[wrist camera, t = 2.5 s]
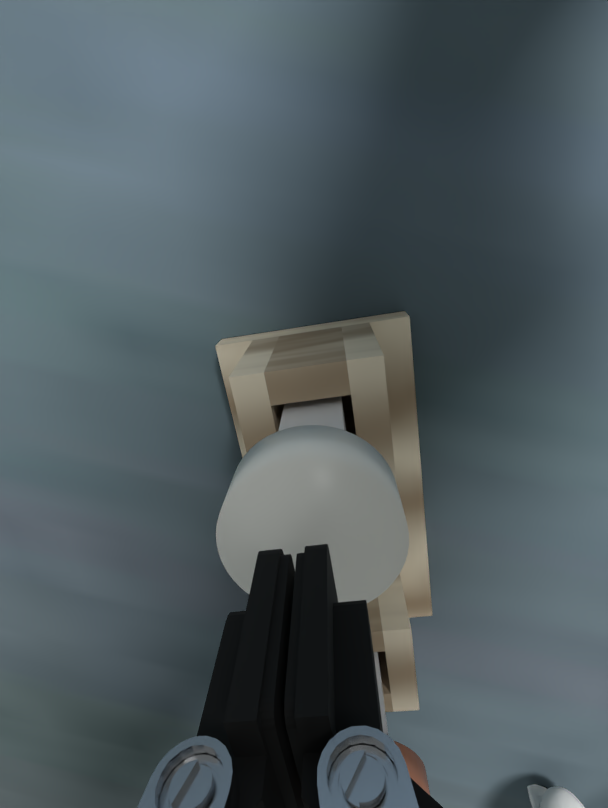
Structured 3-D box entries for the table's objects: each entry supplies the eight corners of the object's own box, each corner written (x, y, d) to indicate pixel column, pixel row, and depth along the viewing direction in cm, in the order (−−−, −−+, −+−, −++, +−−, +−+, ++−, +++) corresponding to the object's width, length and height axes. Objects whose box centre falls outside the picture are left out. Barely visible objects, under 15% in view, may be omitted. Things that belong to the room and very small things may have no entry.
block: (221, 339, 24) (179, 384, 17) (404, 310, 23) (438, 347, 16) (286, 610, 32) (274, 718, 25) (427, 597, 30) (457, 707, 24)
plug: (247, 373, 19) (194, 471, 11) (370, 356, 18) (401, 446, 11) (270, 478, 20) (239, 622, 13) (382, 465, 20) (415, 607, 13)
